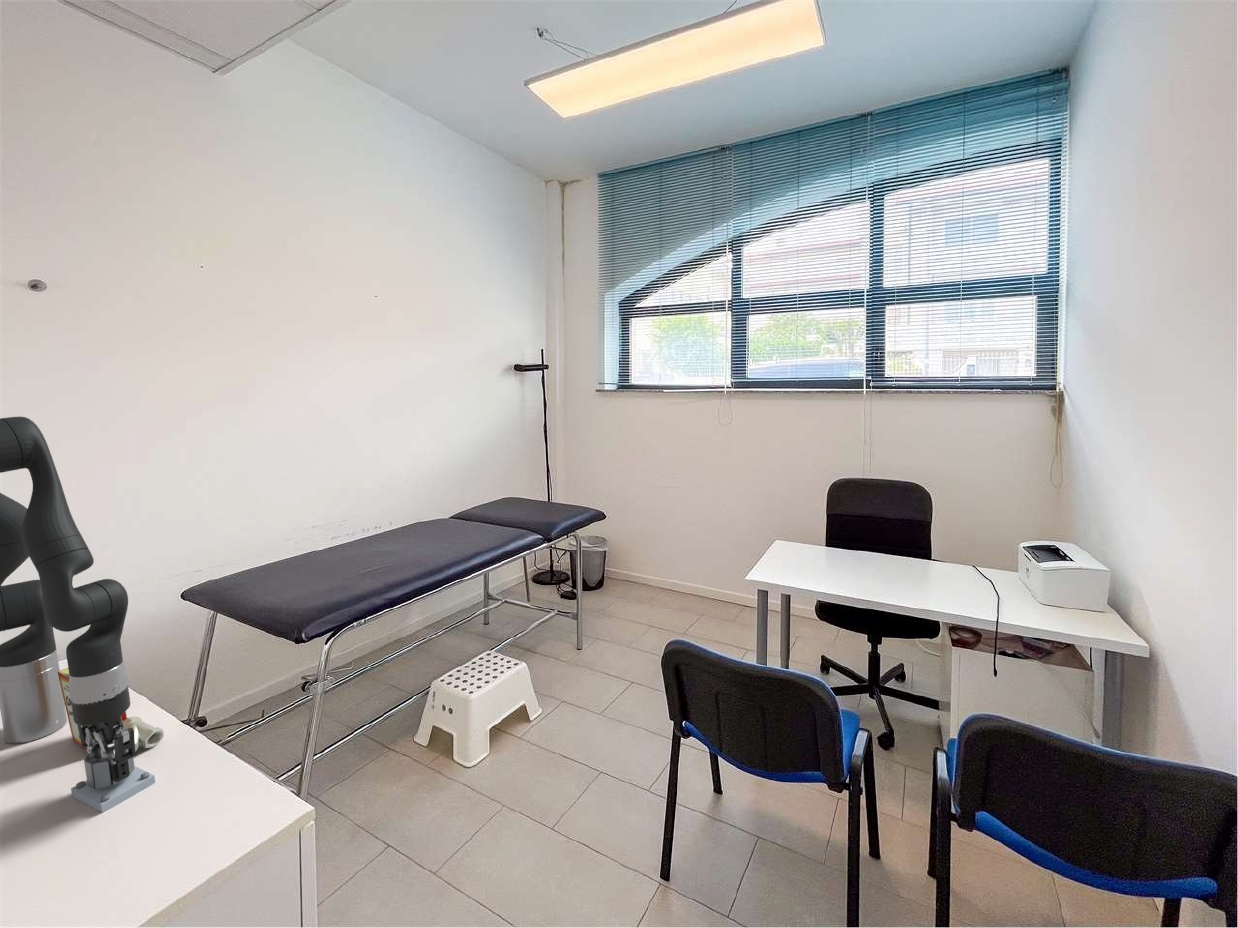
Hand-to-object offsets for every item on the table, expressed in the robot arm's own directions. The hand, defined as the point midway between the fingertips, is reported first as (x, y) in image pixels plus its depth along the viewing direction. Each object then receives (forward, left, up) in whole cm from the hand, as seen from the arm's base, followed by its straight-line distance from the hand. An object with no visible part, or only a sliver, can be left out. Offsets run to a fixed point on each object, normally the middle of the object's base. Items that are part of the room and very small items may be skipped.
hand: (111, 773), depth 100 cm
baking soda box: (-19, +7, -3) cm, 20 cm away
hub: (0, 0, -1) cm, 1 cm away
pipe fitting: (-11, +8, -3) cm, 14 cm away
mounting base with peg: (0, 0, -3) cm, 3 cm away
